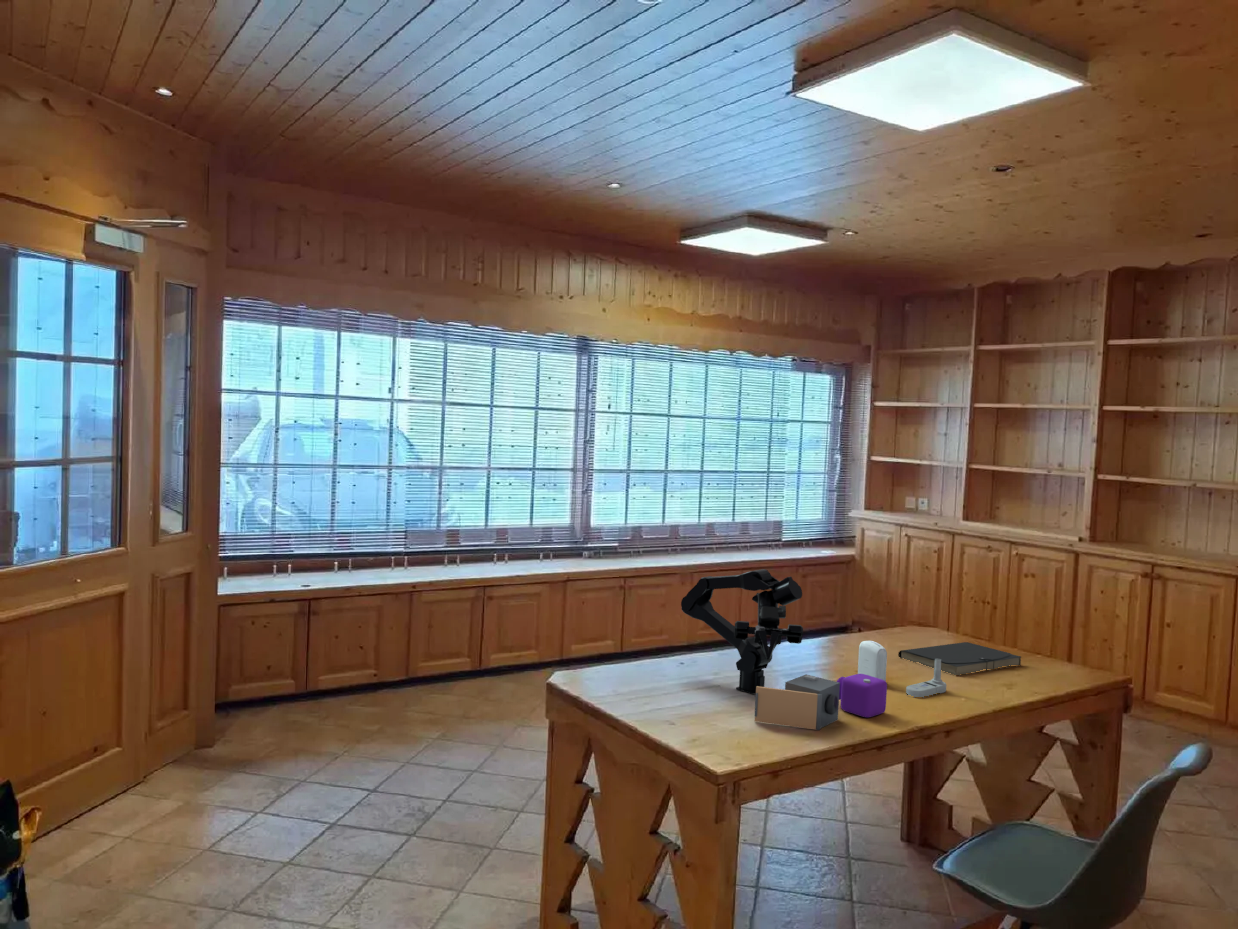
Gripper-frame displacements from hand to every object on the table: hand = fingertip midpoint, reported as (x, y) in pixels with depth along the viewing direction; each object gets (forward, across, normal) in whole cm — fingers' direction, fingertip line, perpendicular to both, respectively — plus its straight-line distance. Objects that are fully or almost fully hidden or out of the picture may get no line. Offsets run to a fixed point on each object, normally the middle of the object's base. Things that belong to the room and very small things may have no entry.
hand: (768, 659), depth 236 cm
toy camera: (+7, +25, +13) cm, 29 cm away
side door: (+19, +5, 0) cm, 20 cm away
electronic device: (-9, +49, +29) cm, 57 cm away
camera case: (+15, +11, +5) cm, 19 cm away
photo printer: (-14, +34, +34) cm, 50 cm away
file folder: (-37, +69, +58) cm, 98 cm away
